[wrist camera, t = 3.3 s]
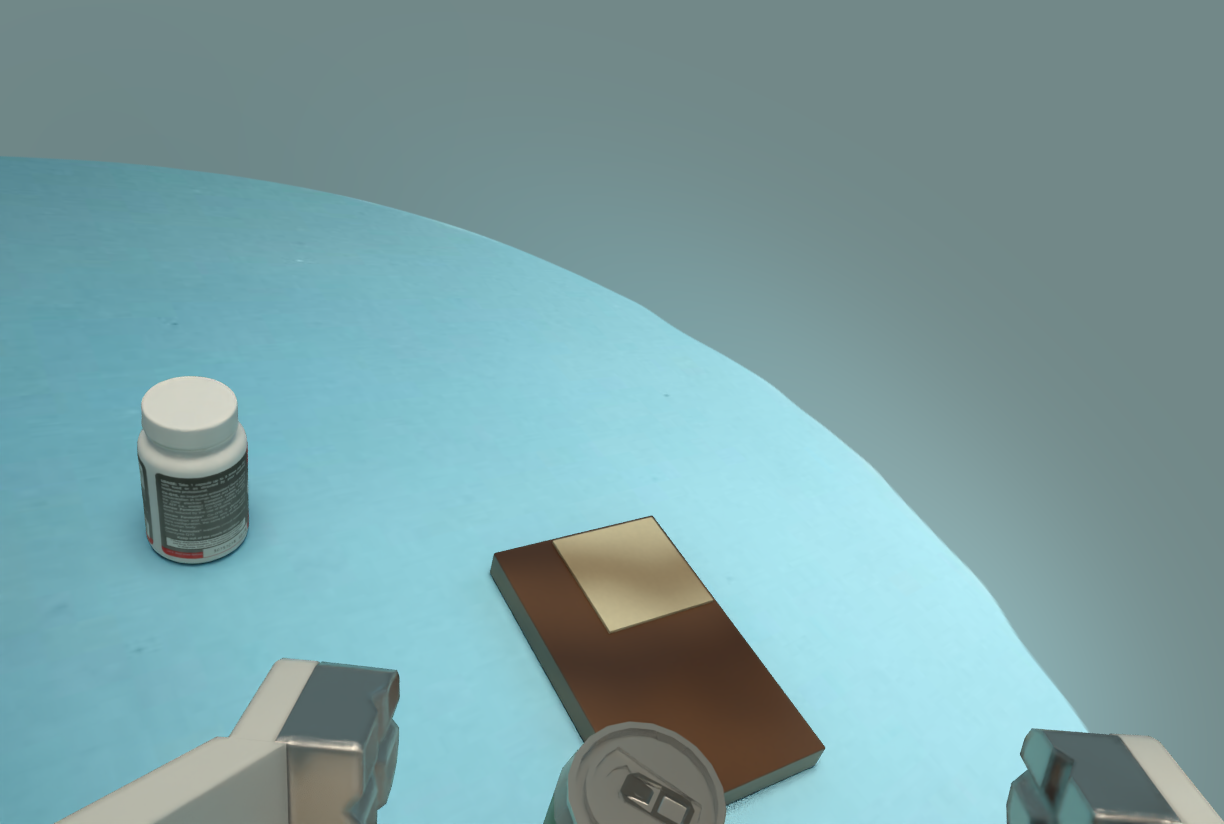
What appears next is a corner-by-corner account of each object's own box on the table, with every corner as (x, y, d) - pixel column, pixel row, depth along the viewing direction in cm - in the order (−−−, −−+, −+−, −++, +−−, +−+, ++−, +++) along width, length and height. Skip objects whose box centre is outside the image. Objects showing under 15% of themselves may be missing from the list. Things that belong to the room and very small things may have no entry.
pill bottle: (268, 529, 49) (270, 402, 44) (193, 581, 45) (186, 449, 40) (202, 486, 50) (197, 358, 45) (124, 533, 47) (108, 399, 42)
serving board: (489, 572, 50) (494, 550, 49) (646, 533, 55) (653, 512, 54) (640, 844, 40) (650, 823, 39) (815, 765, 45) (828, 745, 44)
